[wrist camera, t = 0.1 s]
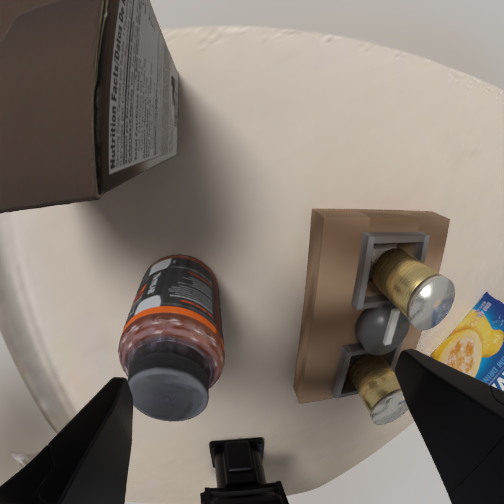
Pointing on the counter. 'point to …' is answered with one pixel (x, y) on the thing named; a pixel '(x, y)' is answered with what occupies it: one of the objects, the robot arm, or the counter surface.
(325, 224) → the mount
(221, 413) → the counter surface
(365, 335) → the dial
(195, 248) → the counter surface
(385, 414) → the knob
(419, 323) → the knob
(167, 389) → the supplement bottle
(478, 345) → the beverage box
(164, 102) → the coffee box
